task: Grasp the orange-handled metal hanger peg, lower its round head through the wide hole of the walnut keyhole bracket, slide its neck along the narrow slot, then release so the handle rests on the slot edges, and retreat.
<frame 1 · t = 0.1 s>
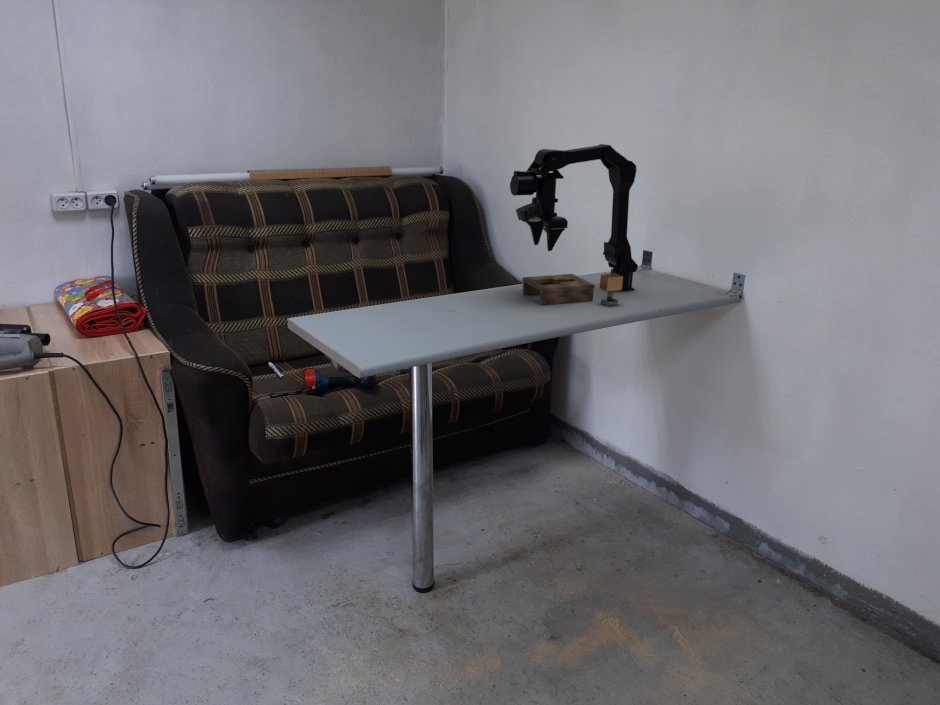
hand: (542, 247, 213), 14 cm above the table, fingers open, 9 cm apart
keyhole bracket: (558, 297, 216), on the table
hanger peg: (609, 303, 210), on the table
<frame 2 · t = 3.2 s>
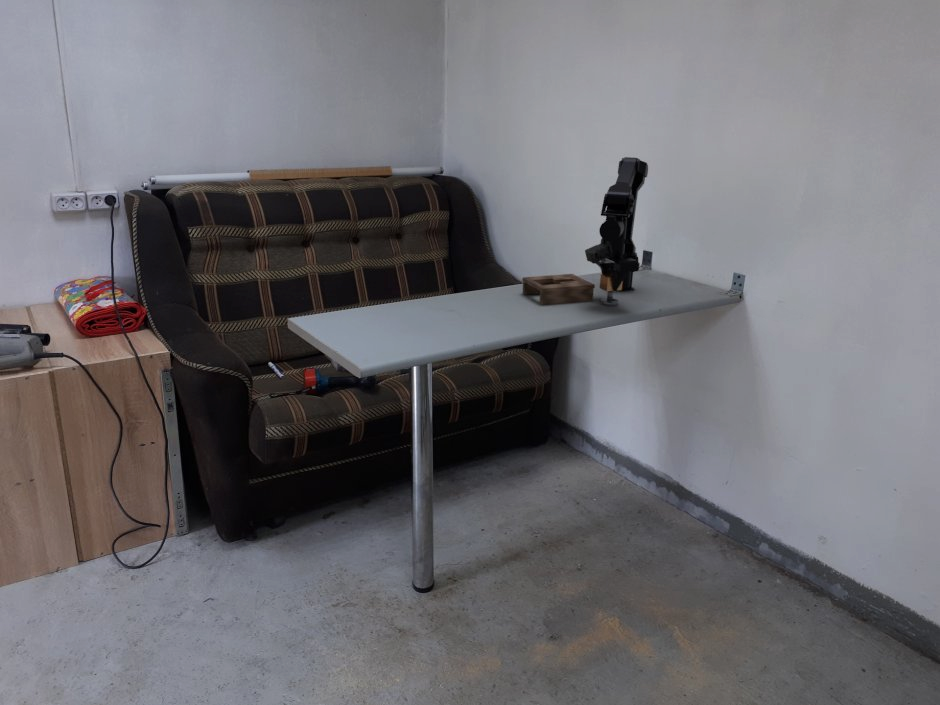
hand: (610, 288, 208), 5 cm above the table, fingers closed on hanger peg, 4 cm apart
hanger peg: (609, 303, 210), on the table, touching gripper
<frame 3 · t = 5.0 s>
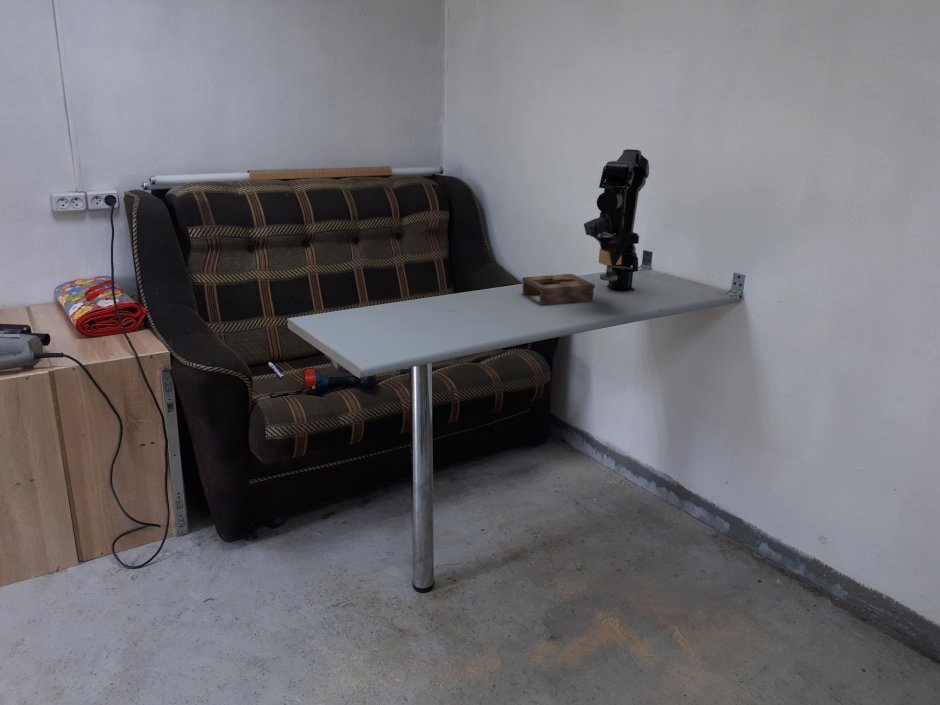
hand: (609, 263, 206), 12 cm above the table, fingers closed on hanger peg, 4 cm apart
hanger peg: (608, 278, 208), point 7 cm above the table, touching gripper
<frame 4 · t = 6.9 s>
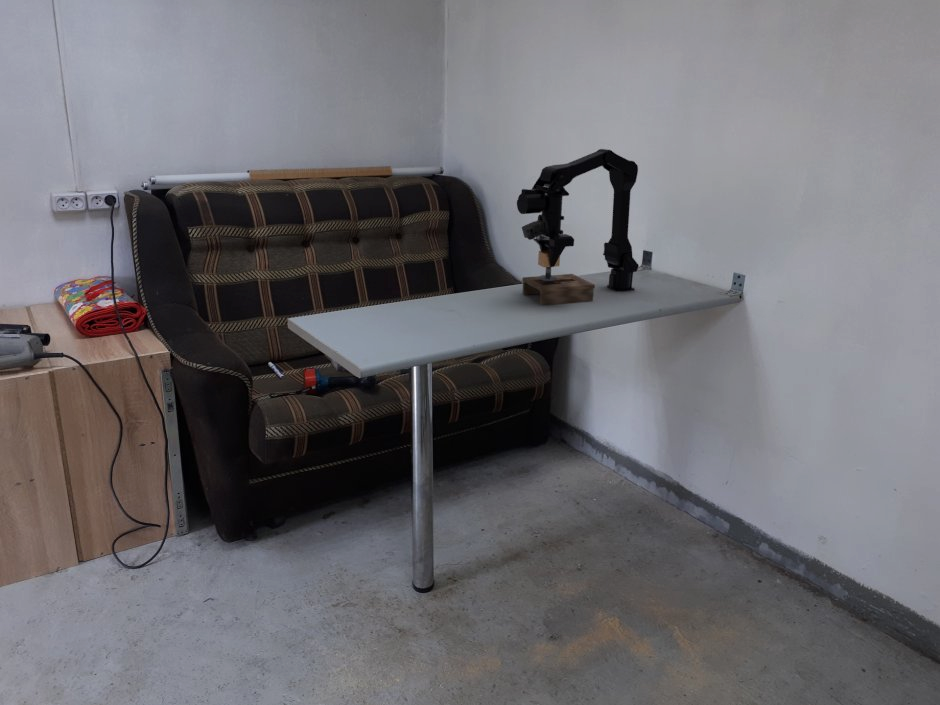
hand: (548, 265, 211), 10 cm above the table, fingers closed on hanger peg, 4 cm apart
hanger peg: (547, 280, 213), point 5 cm above the table, touching gripper
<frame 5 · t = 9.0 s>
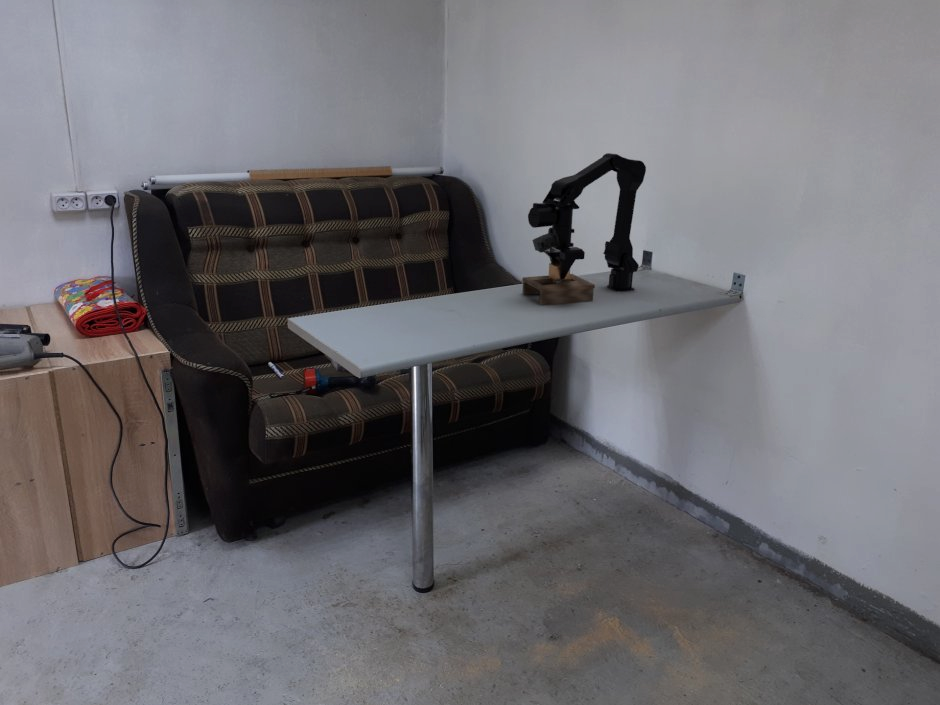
hand: (559, 277, 214), 6 cm above the table, fingers closed on hanger peg, 4 cm apart
hanger peg: (558, 292, 215), point 2 cm above the table, touching gripper
when the fingers open (6 cm above the table, at t = 10.8 s): hanger peg drops 1 cm, resting on keyhole bracket.
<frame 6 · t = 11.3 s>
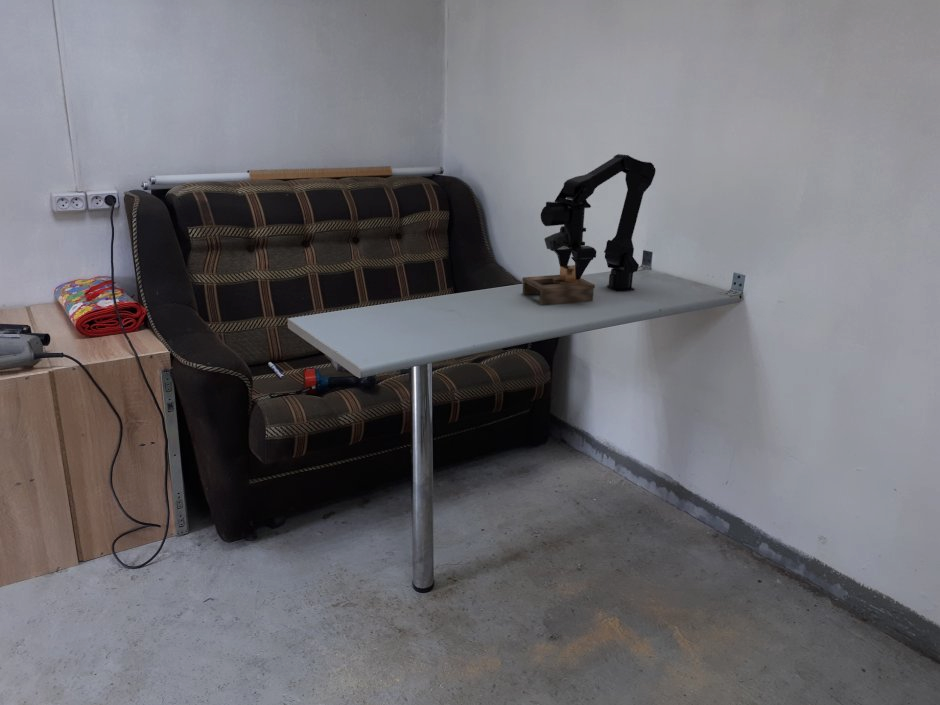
hand: (570, 275, 215), 6 cm above the table, fingers open, 9 cm apart
hanger peg: (568, 294, 217), resting on keyhole bracket
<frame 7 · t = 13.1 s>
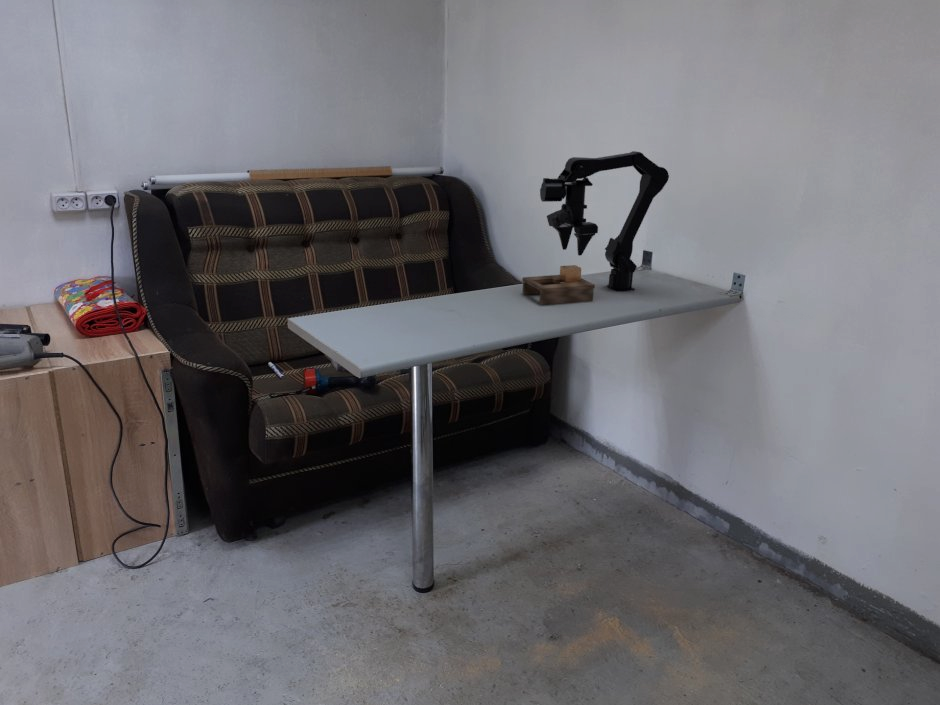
hand: (572, 252, 220), 12 cm above the table, fingers open, 9 cm apart
nothing on the table moved.
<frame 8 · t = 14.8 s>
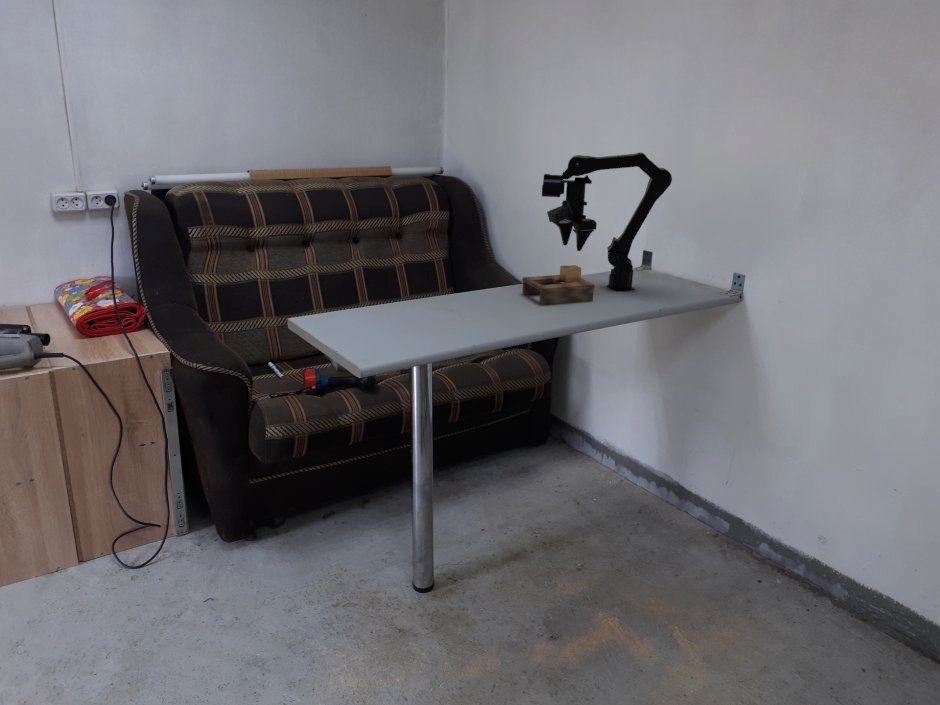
hand: (571, 248, 226), 12 cm above the table, fingers open, 9 cm apart
nothing on the table moved.
at the end: hanger peg 0.0 cm from the target spot on the keyhole bracket, point 0.5 cm above the keyhole bracket's base; hanger peg tilted 0°; the gripper is holding nothing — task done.
